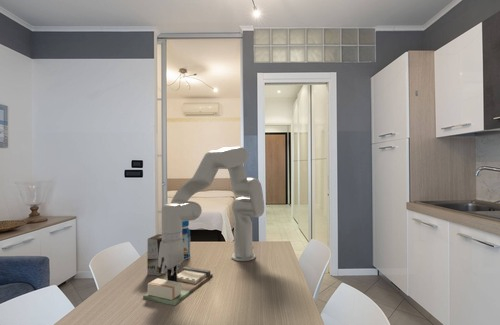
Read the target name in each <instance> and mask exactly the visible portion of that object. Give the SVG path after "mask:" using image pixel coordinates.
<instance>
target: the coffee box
mask: <svg viewBox="0 0 500 325" xmlns="http://www.w3.org/2000/svg"><path fill="white" fill-rule="evenodd" d="M161 241H162V233H160V234H159V233H157V234H156V235H152V236H151V237H149V238H147V253H146V254H147V256H146V257H147V260H146V261H147V262H146V263H147V264H146V265H147V266H146V268H147V269H146V270H147V275H148V276H149V275H150V276H158V277H160V276H162V274H163V273H161V271H162V268H159V267H158V257H159V247H160V243H161Z"/></svg>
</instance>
